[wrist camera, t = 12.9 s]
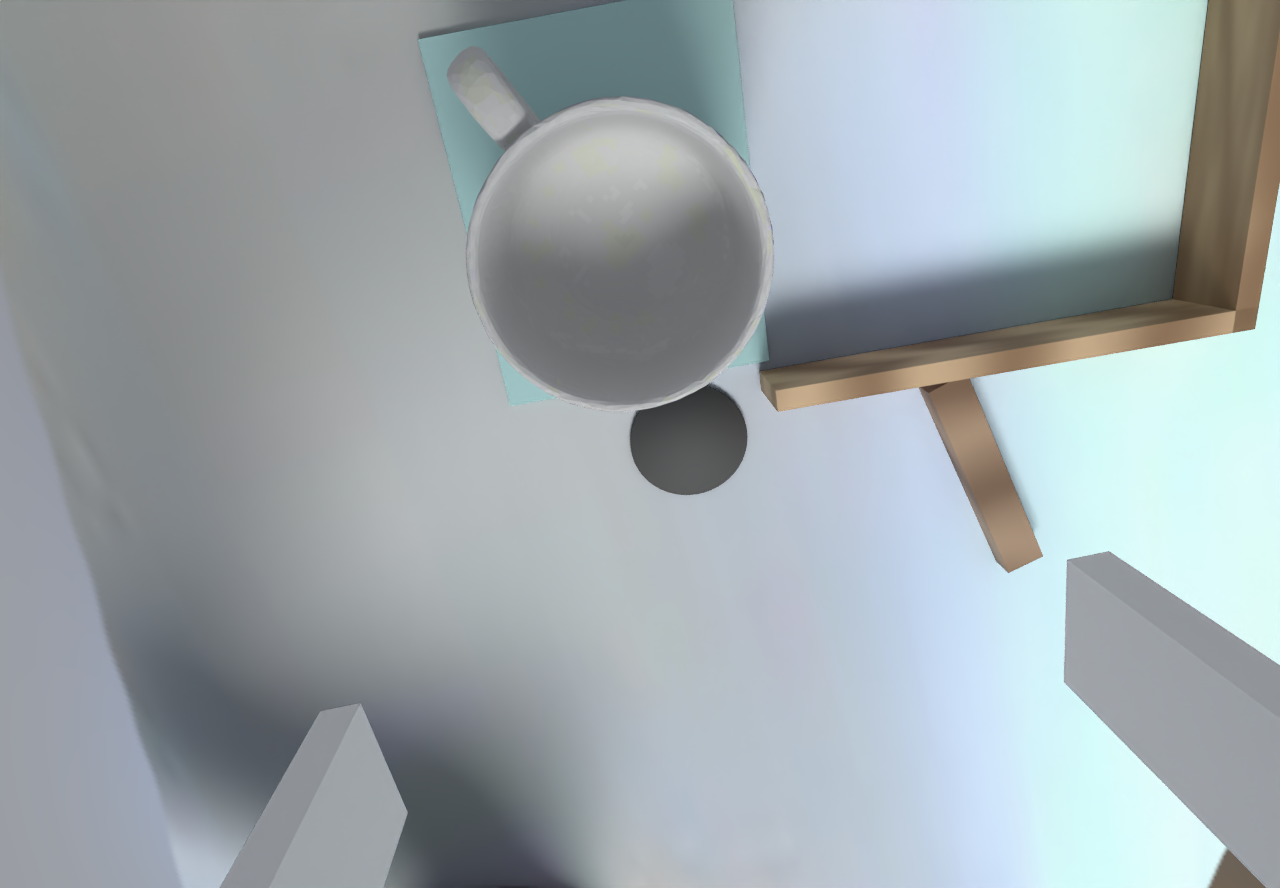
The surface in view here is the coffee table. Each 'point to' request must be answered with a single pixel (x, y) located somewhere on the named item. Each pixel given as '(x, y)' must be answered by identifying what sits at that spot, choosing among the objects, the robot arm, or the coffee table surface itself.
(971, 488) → the walnut bar
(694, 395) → the disc
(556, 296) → the teacup
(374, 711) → the coffee table surface
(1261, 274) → the cubby
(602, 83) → the mat
